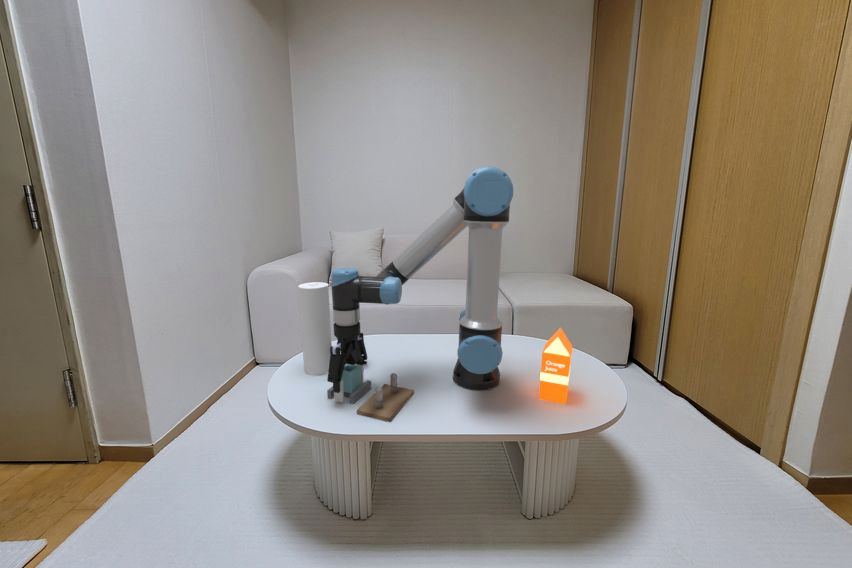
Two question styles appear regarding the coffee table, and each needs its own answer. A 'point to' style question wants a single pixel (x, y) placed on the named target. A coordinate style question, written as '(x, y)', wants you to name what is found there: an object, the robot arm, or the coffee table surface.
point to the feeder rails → (356, 394)
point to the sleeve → (351, 379)
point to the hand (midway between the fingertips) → (349, 392)
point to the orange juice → (555, 368)
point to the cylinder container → (315, 327)
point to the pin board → (386, 401)
